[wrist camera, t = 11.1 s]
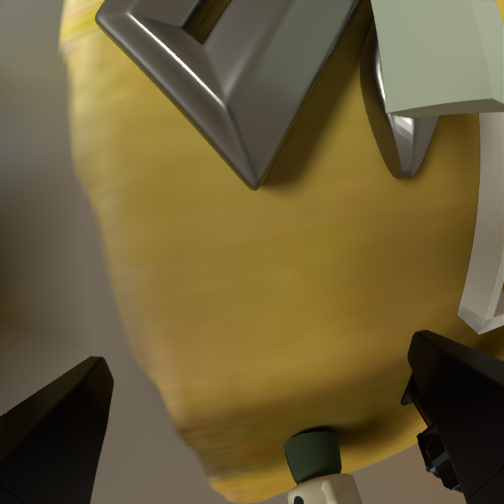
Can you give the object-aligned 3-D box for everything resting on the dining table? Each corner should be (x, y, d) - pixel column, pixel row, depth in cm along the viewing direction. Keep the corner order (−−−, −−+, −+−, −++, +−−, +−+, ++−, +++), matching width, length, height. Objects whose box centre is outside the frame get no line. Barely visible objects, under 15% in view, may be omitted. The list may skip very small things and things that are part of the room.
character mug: (276, 420, 26) (294, 530, 14) (342, 407, 26) (380, 508, 14) (281, 464, 30) (294, 547, 18) (334, 454, 30) (358, 533, 18)
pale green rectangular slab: (414, 118, 13) (520, 112, 6) (385, 113, 13) (492, 98, 6) (385, -37, 9) (445, -91, 2) (358, -45, 9) (412, -108, 2)
